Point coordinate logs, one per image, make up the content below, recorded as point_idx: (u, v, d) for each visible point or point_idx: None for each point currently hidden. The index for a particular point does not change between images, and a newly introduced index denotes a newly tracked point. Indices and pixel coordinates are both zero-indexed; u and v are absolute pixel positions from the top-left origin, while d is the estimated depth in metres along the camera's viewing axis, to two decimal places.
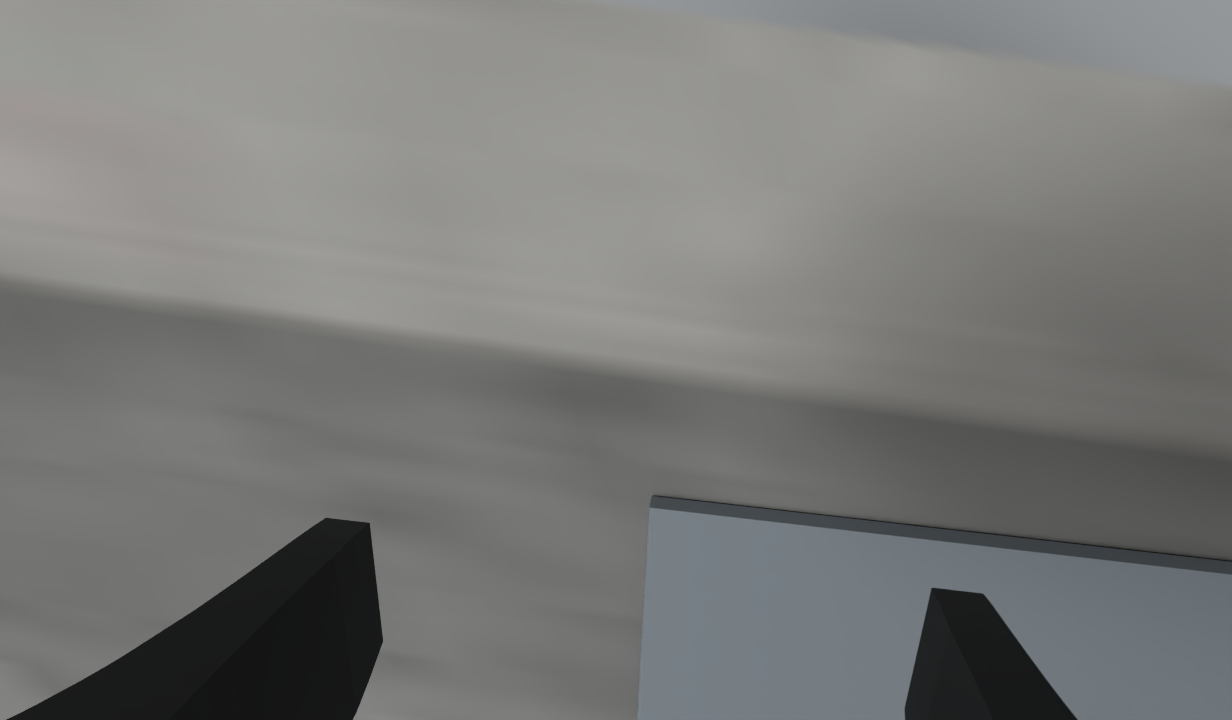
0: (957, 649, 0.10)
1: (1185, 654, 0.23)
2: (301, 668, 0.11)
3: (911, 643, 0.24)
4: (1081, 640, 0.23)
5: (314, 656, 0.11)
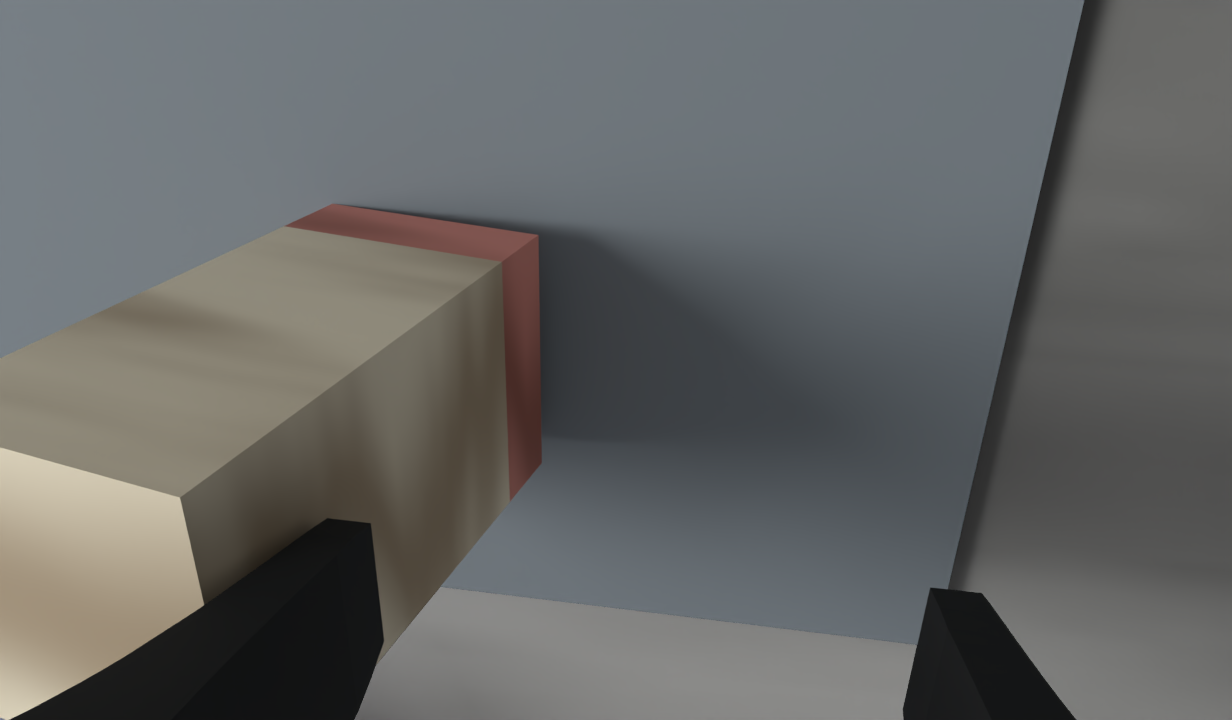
0: (955, 649, 0.10)
1: None
2: (302, 668, 0.11)
3: (112, 21, 0.18)
4: None
5: (315, 656, 0.11)
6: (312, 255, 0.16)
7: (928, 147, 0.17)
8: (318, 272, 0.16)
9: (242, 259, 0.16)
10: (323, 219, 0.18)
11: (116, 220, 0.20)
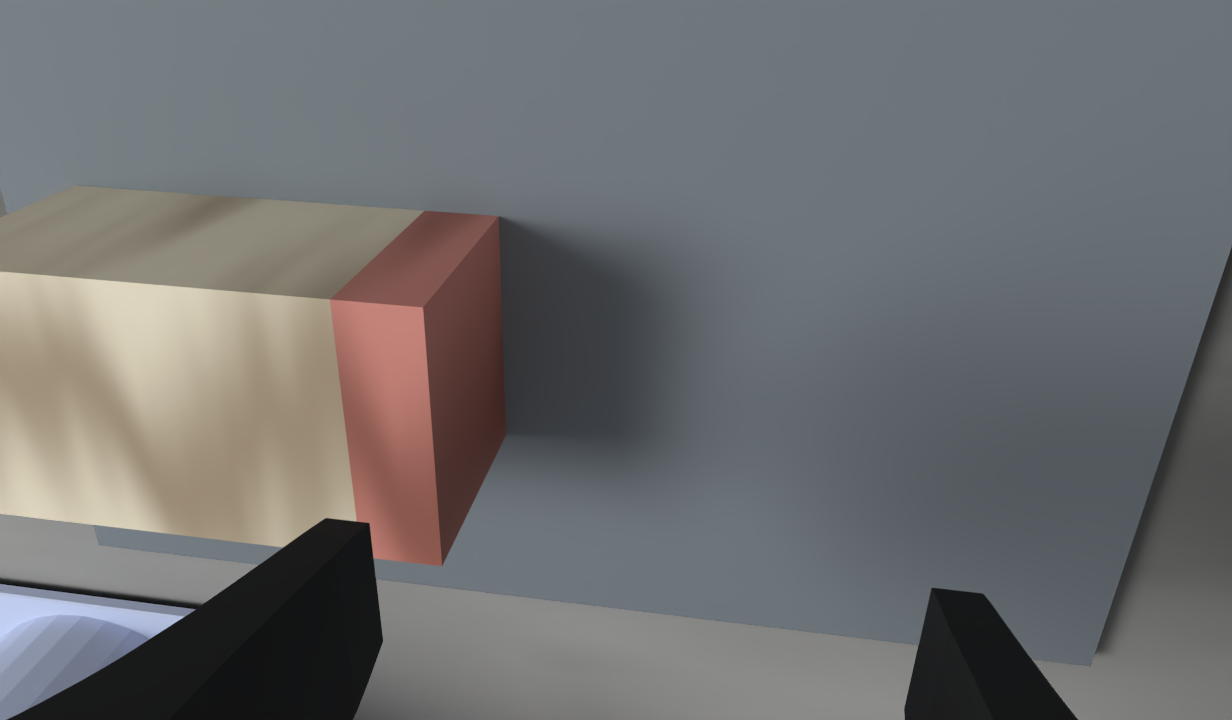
0: (957, 649, 0.10)
1: (621, 1, 0.16)
2: (301, 668, 0.11)
3: (283, 29, 0.18)
4: None
5: (314, 656, 0.11)
6: (345, 230, 0.18)
7: (1132, 160, 0.16)
8: (301, 237, 0.17)
9: (333, 211, 0.18)
10: (448, 219, 0.18)
11: None
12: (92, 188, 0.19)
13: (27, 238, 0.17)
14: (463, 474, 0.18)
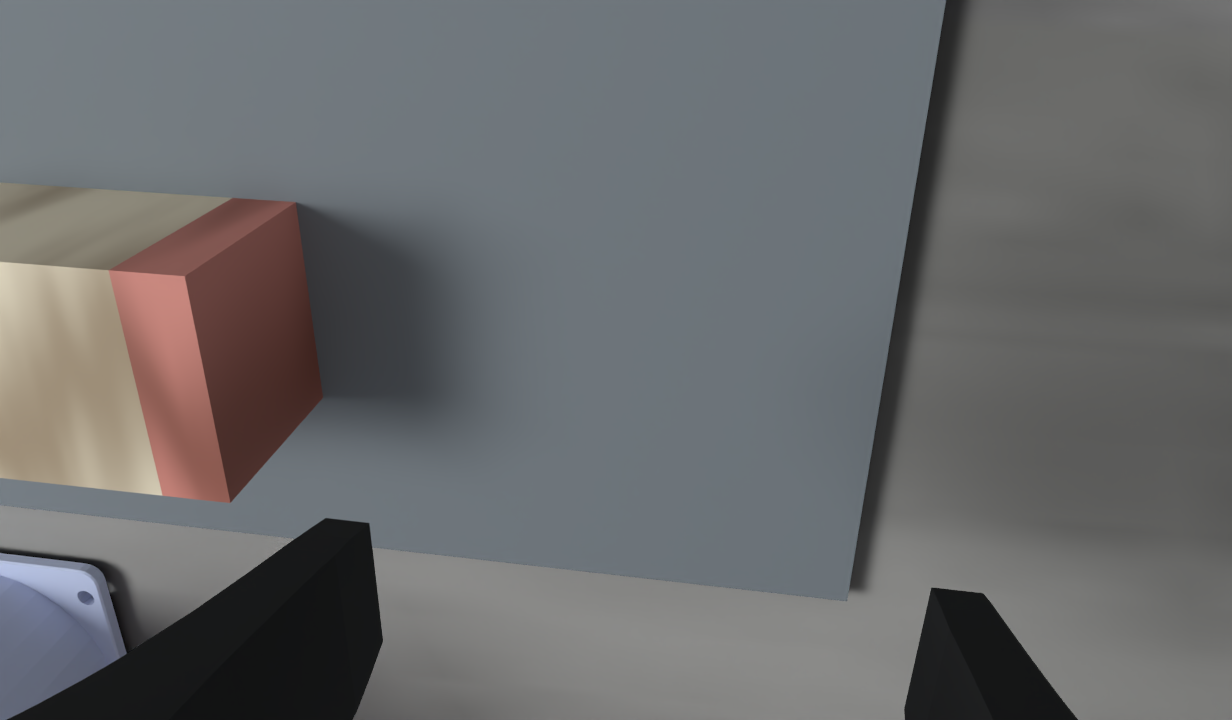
0: (957, 649, 0.10)
1: (378, 15, 0.19)
2: (300, 668, 0.11)
3: (98, 41, 0.20)
4: (264, 8, 0.19)
5: (314, 656, 0.11)
6: (153, 214, 0.20)
7: (816, 149, 0.19)
8: (111, 220, 0.20)
9: (151, 199, 0.21)
10: (249, 205, 0.21)
11: None
12: None
13: None
14: (257, 425, 0.20)
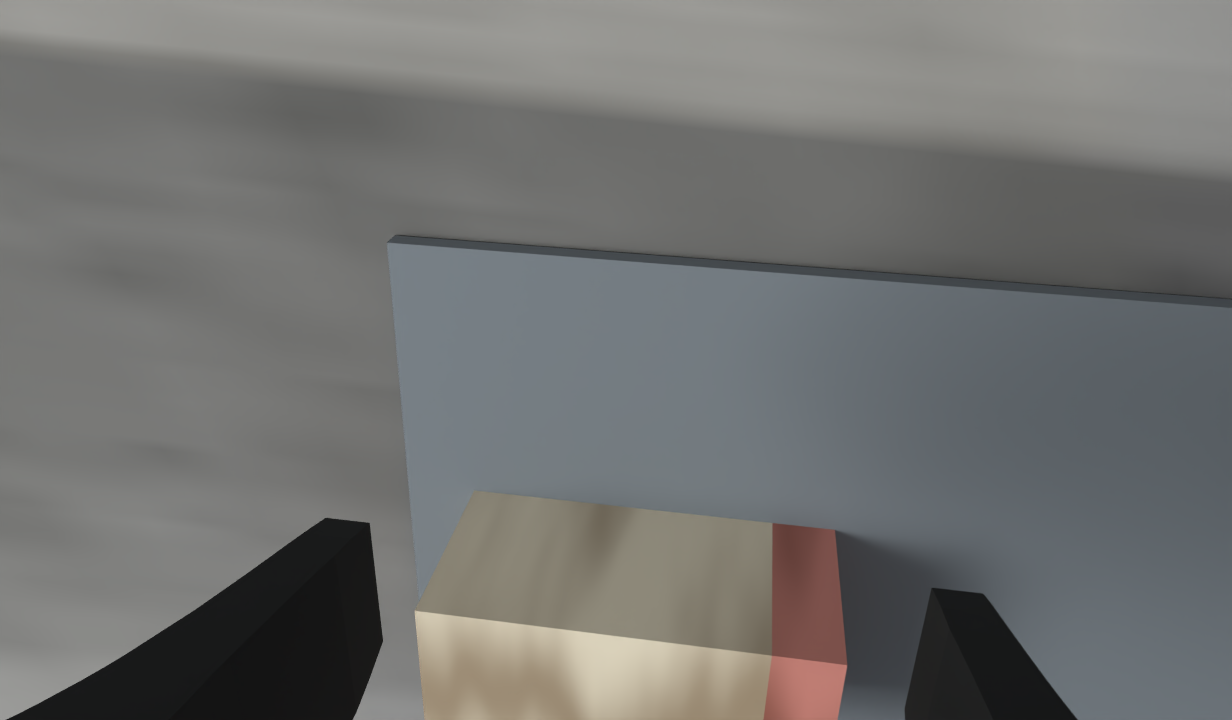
0: (957, 649, 0.10)
1: (965, 392, 0.21)
2: (300, 668, 0.11)
3: (679, 395, 0.22)
4: (854, 381, 0.21)
5: (314, 656, 0.11)
6: (726, 554, 0.22)
7: None
8: (699, 566, 0.22)
9: (702, 526, 0.23)
10: (798, 536, 0.23)
11: None
12: (491, 494, 0.24)
13: (490, 573, 0.21)
14: None
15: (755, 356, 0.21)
